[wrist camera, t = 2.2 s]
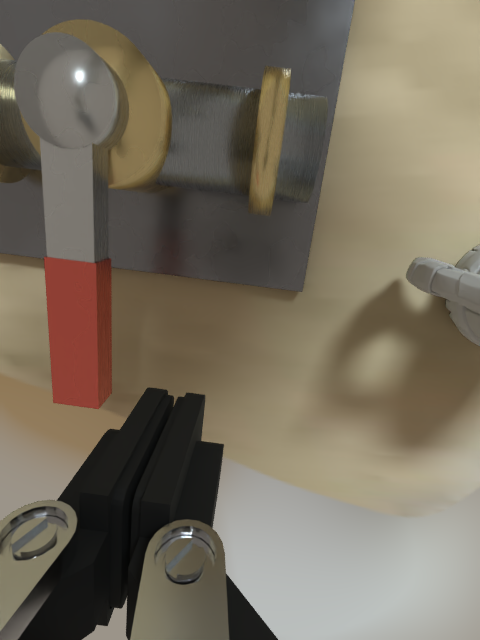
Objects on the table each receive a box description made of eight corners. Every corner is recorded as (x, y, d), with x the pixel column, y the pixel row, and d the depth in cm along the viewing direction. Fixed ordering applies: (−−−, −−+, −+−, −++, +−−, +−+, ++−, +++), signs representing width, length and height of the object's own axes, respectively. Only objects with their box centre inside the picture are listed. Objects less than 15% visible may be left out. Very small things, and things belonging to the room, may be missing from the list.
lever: (38, 47, 13) (8, 26, 12) (129, 58, 13) (112, 38, 12) (58, 384, 18) (39, 400, 16) (125, 393, 18) (112, 411, 16)
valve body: (-43, -41, 19) (-229, -193, 12) (352, 3, 19) (409, -128, 11) (-10, 249, 24) (-126, 266, 17) (300, 289, 24) (318, 325, 16)
